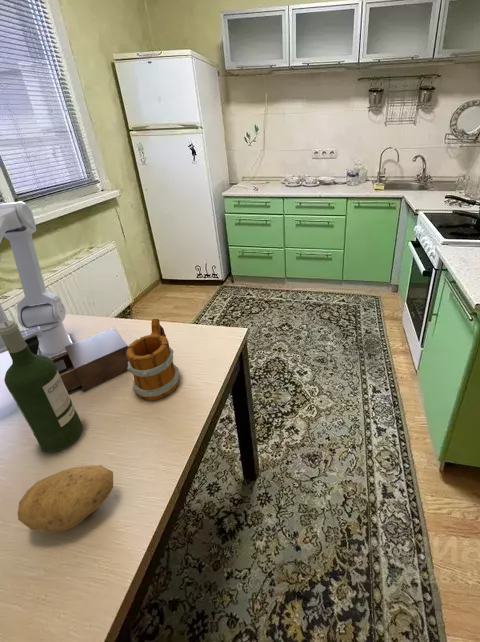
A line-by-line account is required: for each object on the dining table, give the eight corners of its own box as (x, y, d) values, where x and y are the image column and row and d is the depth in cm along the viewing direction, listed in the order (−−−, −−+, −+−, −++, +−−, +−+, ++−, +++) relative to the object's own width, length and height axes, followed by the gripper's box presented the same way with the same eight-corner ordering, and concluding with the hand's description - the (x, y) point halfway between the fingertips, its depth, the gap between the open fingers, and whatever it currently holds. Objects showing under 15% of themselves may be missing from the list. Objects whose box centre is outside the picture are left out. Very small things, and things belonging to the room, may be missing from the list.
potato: (117, 524, 55) (104, 497, 52) (21, 557, 52) (0, 530, 48) (124, 470, 64) (113, 444, 60) (41, 495, 60) (25, 469, 56)
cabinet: (84, 391, 83) (74, 368, 79) (73, 368, 90) (64, 346, 87) (134, 367, 90) (127, 345, 87) (120, 347, 98) (114, 327, 94)
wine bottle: (86, 438, 70) (34, 325, 57) (43, 460, 66) (-25, 344, 53) (80, 415, 76) (31, 307, 63) (39, 434, 72) (-22, 323, 58)
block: (68, 372, 86) (49, 380, 84) (62, 359, 84) (42, 367, 82) (72, 380, 83) (52, 390, 81) (66, 367, 81) (46, 376, 79)
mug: (129, 404, 78) (112, 356, 72) (149, 358, 93) (136, 315, 86) (174, 400, 79) (162, 352, 72) (187, 355, 94) (177, 312, 87)
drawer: (24, 415, 75) (14, 397, 73) (19, 390, 82) (9, 373, 80) (99, 379, 85) (93, 362, 82) (89, 359, 92) (83, 343, 89)
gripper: (-55, 349, 63) (-23, 399, 69) (35, 319, 72) (56, 366, 78) (-54, 333, 68) (-24, 381, 74) (30, 307, 76) (50, 352, 83)
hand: (17, 372), depth 76 cm, fingers open, 7 cm apart
